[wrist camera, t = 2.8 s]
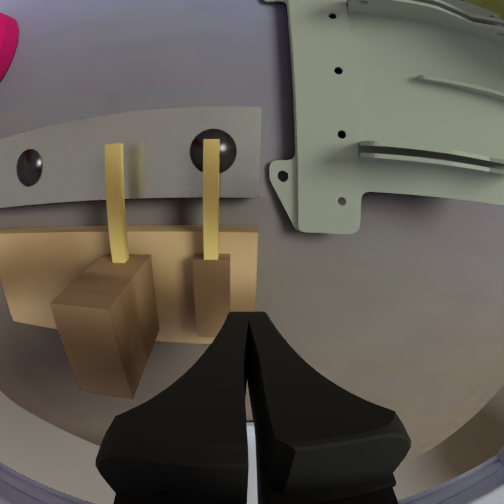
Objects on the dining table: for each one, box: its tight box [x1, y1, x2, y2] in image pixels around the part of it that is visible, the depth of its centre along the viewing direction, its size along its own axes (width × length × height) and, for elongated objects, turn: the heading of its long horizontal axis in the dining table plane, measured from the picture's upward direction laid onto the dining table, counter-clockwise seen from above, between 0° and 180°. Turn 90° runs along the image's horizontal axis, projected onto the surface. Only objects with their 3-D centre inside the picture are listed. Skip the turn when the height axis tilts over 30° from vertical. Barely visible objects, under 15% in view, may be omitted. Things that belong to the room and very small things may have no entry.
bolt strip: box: [0, 106, 262, 208], centre depth 12 cm, size 4×16×1 cm, turn 88°
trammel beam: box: [0, 139, 258, 344], centre depth 13 cm, size 10×16×2 cm, turn 88°
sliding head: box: [50, 143, 160, 399], centre depth 10 cm, size 9×2×5 cm, turn 178°
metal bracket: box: [263, 0, 504, 234], centre depth 11 cm, size 14×6×15 cm
